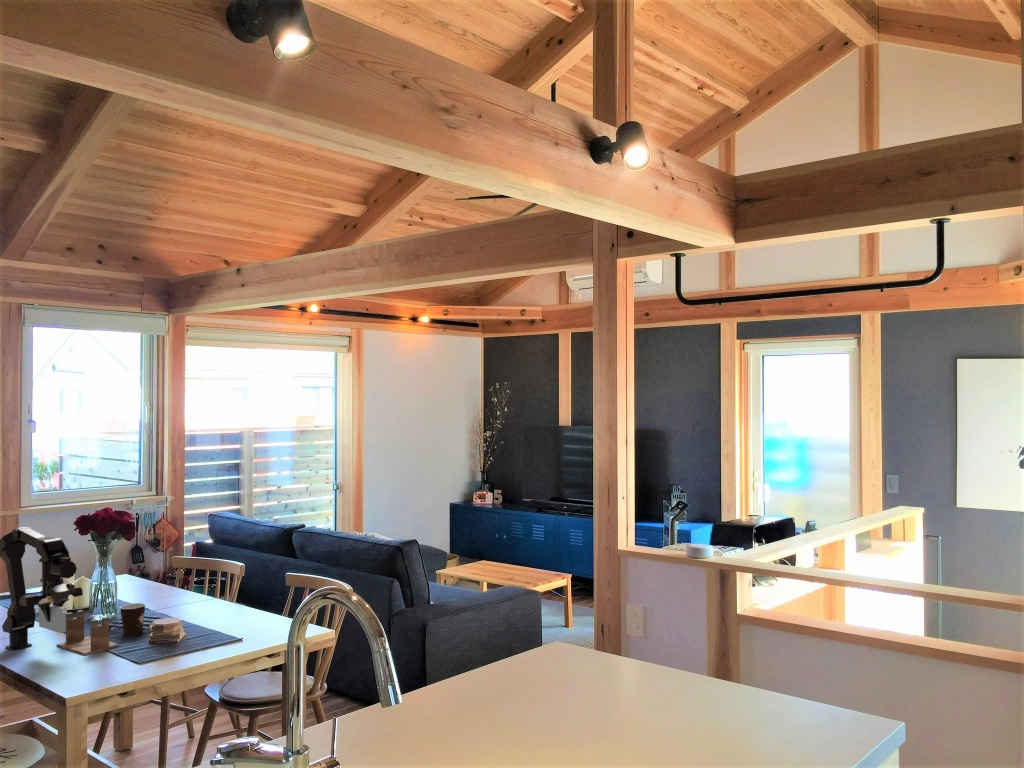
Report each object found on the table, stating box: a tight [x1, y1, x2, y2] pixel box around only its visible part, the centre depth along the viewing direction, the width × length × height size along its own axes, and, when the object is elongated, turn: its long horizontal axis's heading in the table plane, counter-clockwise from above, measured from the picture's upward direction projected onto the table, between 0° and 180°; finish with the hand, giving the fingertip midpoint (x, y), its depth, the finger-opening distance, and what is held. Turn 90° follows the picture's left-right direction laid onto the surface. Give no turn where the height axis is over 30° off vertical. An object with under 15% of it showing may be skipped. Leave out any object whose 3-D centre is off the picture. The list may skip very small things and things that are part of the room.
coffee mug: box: [119, 602, 146, 636], centre depth 314 cm, size 12×9×10 cm
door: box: [36, 603, 68, 634], centre depth 287 cm, size 19×2×8 cm, turn 54°
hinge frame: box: [56, 609, 120, 656], centre depth 296 cm, size 20×12×11 cm, turn 53°
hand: (52, 621), depth 287 cm, fingers closed on door, 2 cm apart
